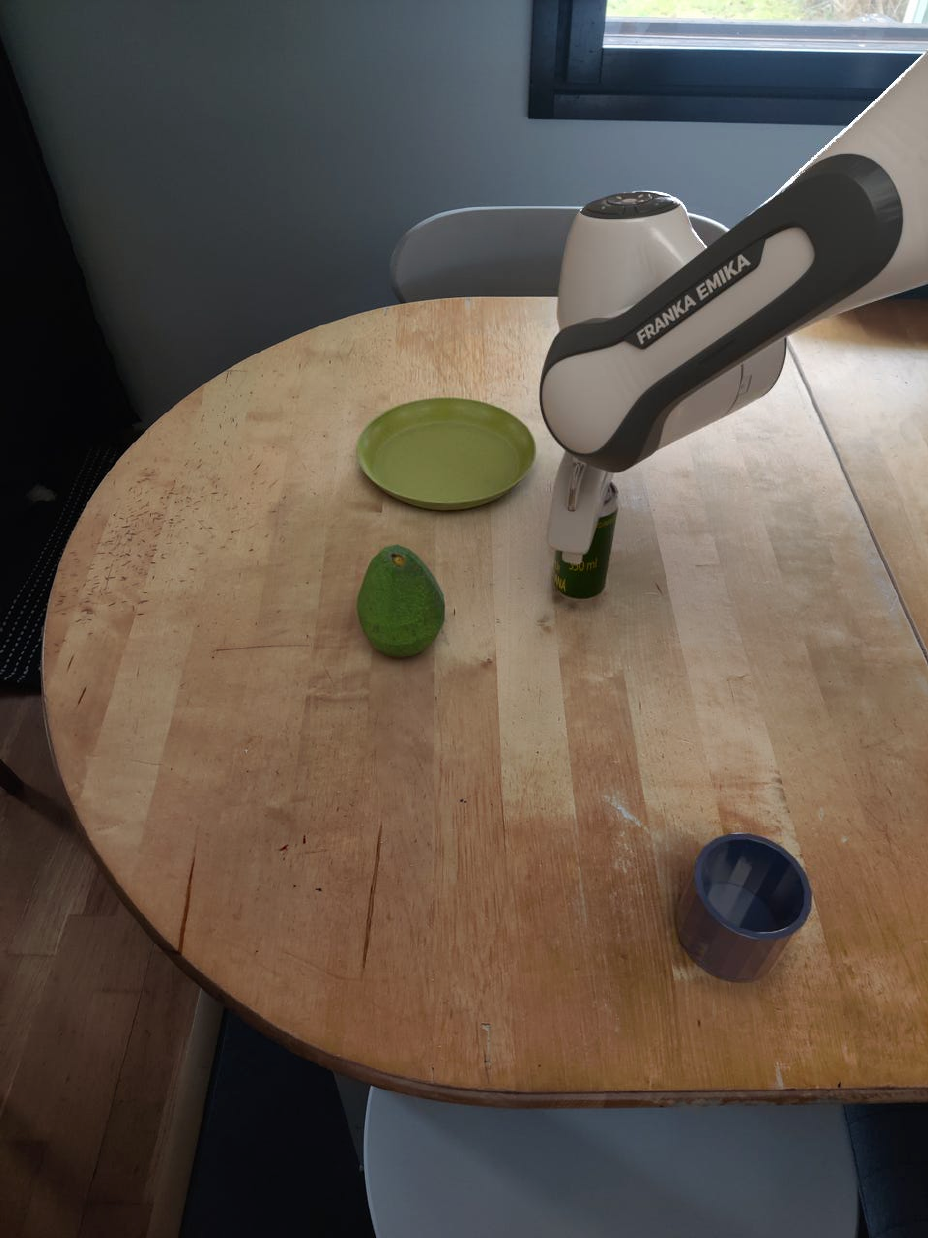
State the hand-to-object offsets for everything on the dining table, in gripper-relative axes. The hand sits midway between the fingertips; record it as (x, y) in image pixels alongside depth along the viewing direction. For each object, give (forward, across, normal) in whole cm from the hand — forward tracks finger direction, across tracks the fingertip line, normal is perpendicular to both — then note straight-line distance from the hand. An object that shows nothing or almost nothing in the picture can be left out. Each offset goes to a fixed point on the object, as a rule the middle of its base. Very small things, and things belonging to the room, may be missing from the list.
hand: (583, 526), depth 81 cm
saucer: (+8, +15, +19) cm, 25 cm away
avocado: (+8, -13, +14) cm, 21 cm away
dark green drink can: (+8, 0, 0) cm, 8 cm away
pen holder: (+8, -32, -18) cm, 38 cm away
